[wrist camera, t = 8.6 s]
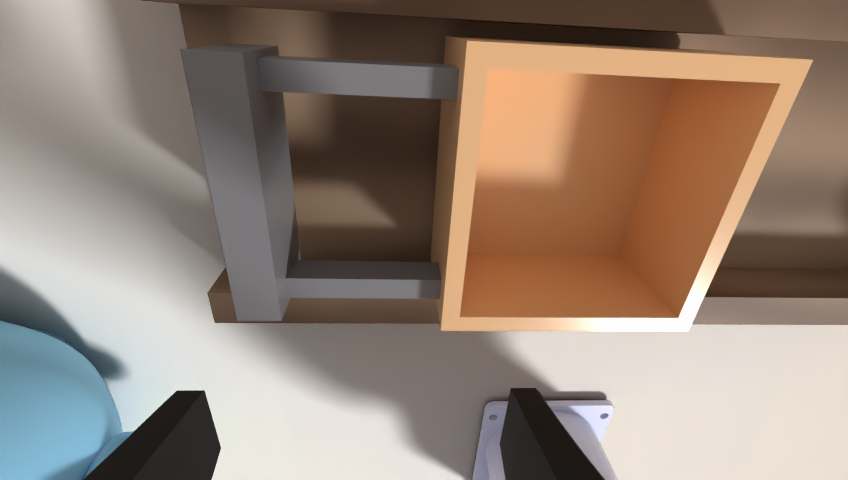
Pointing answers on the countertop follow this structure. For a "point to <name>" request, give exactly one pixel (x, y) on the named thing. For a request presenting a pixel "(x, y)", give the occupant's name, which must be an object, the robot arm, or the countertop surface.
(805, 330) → the countertop surface
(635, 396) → the countertop surface
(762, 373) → the countertop surface
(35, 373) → the decorative pot
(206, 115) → the drawer
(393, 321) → the bay
